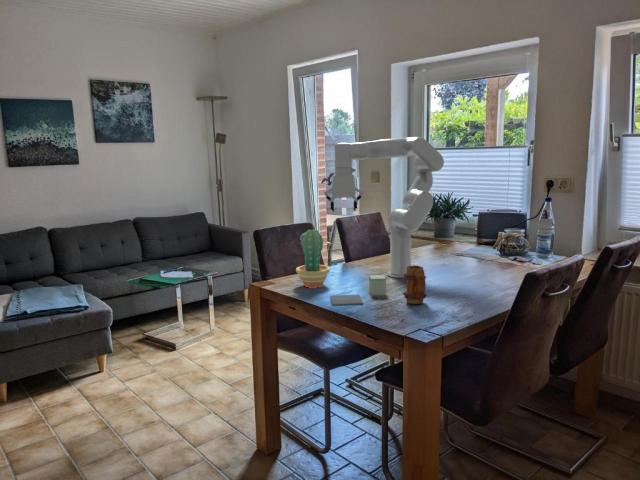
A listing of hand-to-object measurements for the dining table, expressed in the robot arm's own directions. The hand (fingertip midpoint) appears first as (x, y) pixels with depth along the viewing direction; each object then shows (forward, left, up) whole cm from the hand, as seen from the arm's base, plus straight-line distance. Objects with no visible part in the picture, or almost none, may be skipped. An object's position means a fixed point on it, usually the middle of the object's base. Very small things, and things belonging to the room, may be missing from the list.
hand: (343, 210), depth 222 cm
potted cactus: (+14, +4, -33) cm, 36 cm away
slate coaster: (+2, +29, -33) cm, 44 cm away
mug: (-24, +38, -33) cm, 55 cm away
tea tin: (-12, +20, -33) cm, 40 cm away
